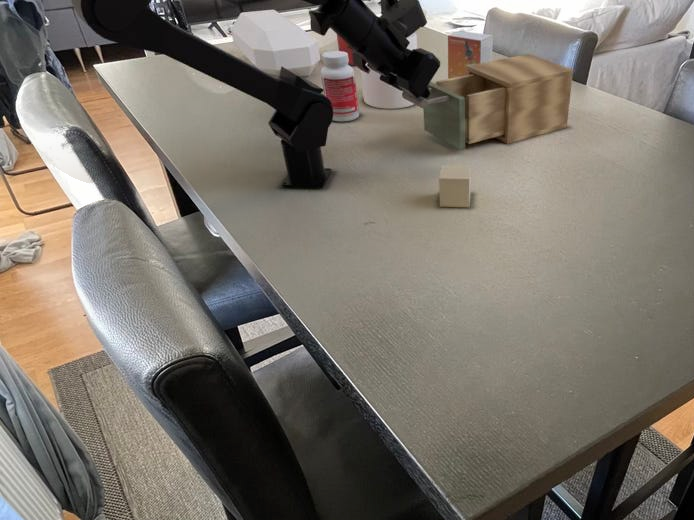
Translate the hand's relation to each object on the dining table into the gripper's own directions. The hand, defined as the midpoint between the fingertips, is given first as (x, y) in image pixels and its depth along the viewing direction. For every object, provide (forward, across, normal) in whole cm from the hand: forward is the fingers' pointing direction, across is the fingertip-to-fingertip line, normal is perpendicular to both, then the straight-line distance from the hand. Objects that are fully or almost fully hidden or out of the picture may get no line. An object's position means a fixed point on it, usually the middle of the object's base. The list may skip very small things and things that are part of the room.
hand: (427, 95), depth 98 cm
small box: (+24, +23, -12) cm, 35 cm away
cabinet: (+20, 0, -8) cm, 22 cm away
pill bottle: (+2, +23, +10) cm, 25 cm away
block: (0, -20, +12) cm, 23 cm away
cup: (+12, +27, +1) cm, 29 cm away
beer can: (+16, +56, -4) cm, 58 cm away
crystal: (+5, +62, +8) cm, 63 cm away
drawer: (+10, 0, +1) cm, 10 cm away
